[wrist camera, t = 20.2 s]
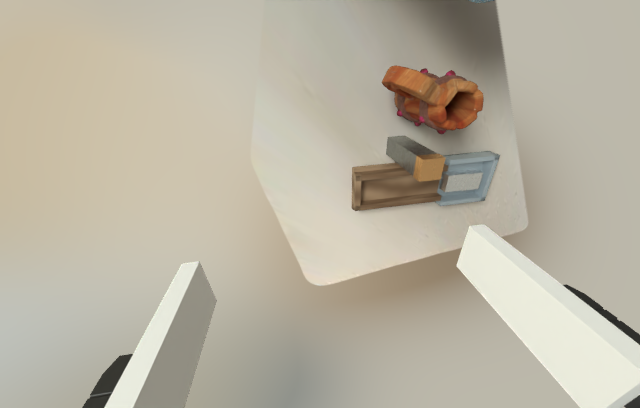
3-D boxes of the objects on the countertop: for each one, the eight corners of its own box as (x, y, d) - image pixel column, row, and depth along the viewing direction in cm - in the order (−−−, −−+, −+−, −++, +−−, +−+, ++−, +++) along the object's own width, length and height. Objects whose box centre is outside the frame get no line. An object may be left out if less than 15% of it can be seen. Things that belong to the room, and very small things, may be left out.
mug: (444, 86, 43) (511, 93, 30) (418, 127, 46) (469, 149, 34) (379, 46, 39) (426, 34, 26) (356, 95, 42) (387, 106, 29)
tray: (442, 155, 50) (450, 160, 48) (489, 150, 51) (499, 155, 49) (432, 199, 56) (439, 205, 53) (475, 194, 57) (484, 200, 54)
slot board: (352, 167, 49) (355, 172, 47) (441, 158, 51) (449, 162, 48) (351, 207, 54) (354, 213, 52) (433, 197, 56) (439, 203, 53)
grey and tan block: (387, 136, 47) (423, 159, 35) (404, 135, 47) (445, 157, 35) (385, 154, 48) (419, 181, 36) (402, 152, 49) (440, 179, 37)
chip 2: (458, 170, 52) (466, 174, 50) (475, 168, 52) (483, 172, 50) (454, 186, 54) (461, 190, 52) (470, 184, 54) (478, 188, 52)
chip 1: (442, 171, 52) (448, 175, 50) (458, 169, 52) (466, 173, 50) (438, 187, 54) (444, 192, 52) (454, 185, 54) (461, 190, 52)
